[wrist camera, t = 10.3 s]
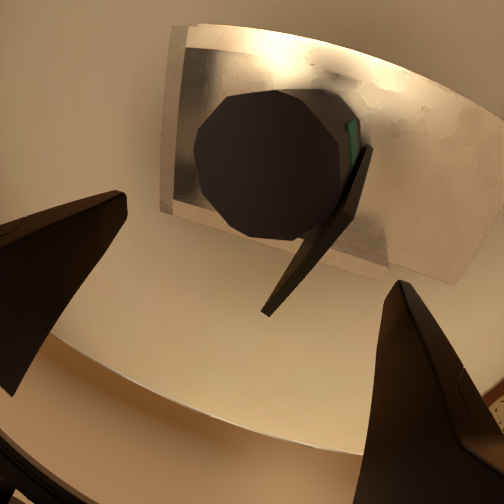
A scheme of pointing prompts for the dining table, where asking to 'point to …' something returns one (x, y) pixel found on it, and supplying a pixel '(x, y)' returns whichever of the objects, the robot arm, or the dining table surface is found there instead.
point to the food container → (496, 402)
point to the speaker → (284, 171)
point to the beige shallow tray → (372, 133)
